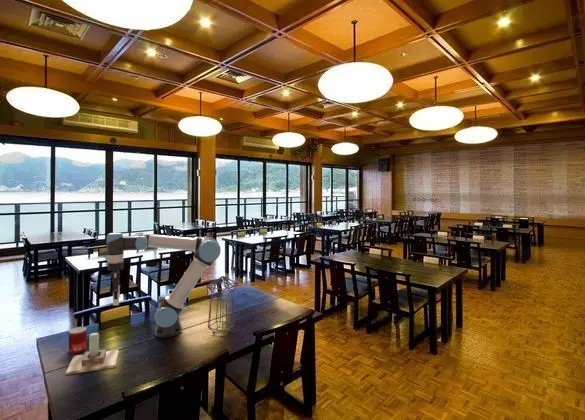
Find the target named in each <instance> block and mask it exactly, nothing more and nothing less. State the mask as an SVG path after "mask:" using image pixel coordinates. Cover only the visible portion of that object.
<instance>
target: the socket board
mask: <svg viewBox="0 0 585 420" xmlns="http://www.w3.org/2000/svg"><path fill="white" fill-rule="evenodd" d="M119 353H120V350H119V349H115V350H107V349H106V348H105V349H99V356H98V357H91V358H89V351H84V354H77V355H74V356H73V357H72V359H71V361H70V363H69V365H68V368H67V369H66V371H65V375H73V374H81V373H86V372H92V371H100V370H106V369H113V368H116V366H117V362H118V357H119Z"/></svg>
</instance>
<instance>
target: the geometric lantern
mask: <svg viewBox="0 0 585 420" xmlns="http://www.w3.org/2000/svg"><path fill="white" fill-rule="evenodd" d="M217 285H218V286H217ZM220 285H222V286H223V287H224V288H220ZM238 286H239V282H236V281H234V280H233V279H230V278H229V277H227V276H225V275H221V276H220V277H218V278H217V279H215V280H212V282H209V284H207V285H205V287H206V288H207V289H209V290H210V302H209V309H208V310H209V311H208V318H207V319H208V321H207V328H208V329H210V331H211V332H212V334H214V335H215V333H219V334H222V336H223V335H224V336H225V335H227V334H226V333H227V332H229V330H230V331H231V329H232V328H233V327H234V326H235V325H236V323H235V321H236V320H235V318H236V317H235V304H234V303H235V302H234V298H235V289H236V288H237V287H238ZM227 290H228V292H229V293H228V294H227V295H226V294H224V292H225V291H227ZM214 294H216V295H215V296H214ZM222 296H225V297H226V298H225V300H224V299H223V297H222ZM229 296H230V297H231V298H229V299H228V297H229ZM216 297H217V299H215V301H217V302H216V303H217V305H216V312H215V313H216V316H215V322H213V323H212V324H211V317H212V301H214V298H216ZM227 299H228V300H227ZM231 300H232V302H231V303H232V305H231V306H232V307H231V309H232V310H231V311H232V314H231V317H232V322H230V321H229V322H228V305H227V304H228V303H227V302H228V301H231ZM221 301H222V302H221ZM219 302H220V303H219ZM224 302H225V305H224ZM219 304H220V307H219ZM224 306H225V307H224ZM218 308H219V309H220V310H219V320H217V319H218ZM224 308H225V319H226V320H225V321H224V312H222V309H224ZM221 316H222V317H221ZM215 324H216V328H212V326H213V325H215ZM218 324H219V326H218ZM221 324H222V325H221ZM224 324H225V325H226V327H225V326H224ZM228 324H231V325H230V326H229V327H228ZM219 328H220V330H219ZM221 328H222V329H221ZM217 330H218V331H217ZM226 330H227V331H226ZM216 331H217V332H216Z"/></svg>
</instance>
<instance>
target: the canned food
mask: <svg viewBox="0 0 585 420" xmlns="http://www.w3.org/2000/svg"><path fill="white" fill-rule="evenodd" d="M87 332H88V330H87V327H86V326H77V327H74V328H73V327H72V328H70V329H69V331H68V352H69V353H70V354H78V353H82V352H85V350H87V347H88V346H87V345H88V344H87V343H88V341H87V339H88V338H87V337H88V333H87Z"/></svg>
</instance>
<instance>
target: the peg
mask: <svg viewBox="0 0 585 420" xmlns="http://www.w3.org/2000/svg"><path fill="white" fill-rule="evenodd" d="M88 337H89V338H88V339H89V341H88V343H89V347H88V348H89V358H91V357H98V356H99V350H100V334H99V333H98V332H93V333H90V334H89V336H88Z"/></svg>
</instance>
